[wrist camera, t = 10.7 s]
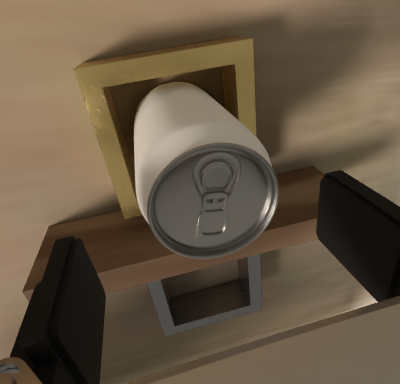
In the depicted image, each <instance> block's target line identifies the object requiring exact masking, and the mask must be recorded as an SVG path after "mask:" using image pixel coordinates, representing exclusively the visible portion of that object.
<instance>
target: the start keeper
mask: <svg viewBox="0 0 400 384" xmlns="http://www.w3.org/2000/svg"><path fill="white" fill-rule="evenodd" d="M238 267H239V278H240V280H237V281H233V282H229V283H225V284H222V285H218V286H214V287H210V288H207V289H203V290H199V291H195V292H192V293H188V294H184V295H180V296H177V297H173V298H170V296H169V292H168V289H167V285H166V282H165V279H161V280H157V281H153V282H149V283H147V286H148V289H149V292H150V295H151V297H152V300H153V303H154V306H155V309H156V312H157V315H158V318H159V321H160V324H161V327H162V330H163V333H164V336H165V337H166V336H170V335H173V334H177V333H180V332H184V331H187V330H191V329H195V328H198V327H202V326H205V325H209V324H212V323H216V322H219V321H223V320H226V319H230V318H234V317H237V316H241V315H244V314H248V313H251V312H255V311H258V310H262V294H261V264H260V254H257V255H253V256H250V257H246V258H242V259H238Z"/></svg>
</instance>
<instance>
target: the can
mask: <svg viewBox="0 0 400 384" xmlns="http://www.w3.org/2000/svg"><path fill="white" fill-rule="evenodd" d="M134 158H135V186H136V196H137V201H138V204H139V208H140V210H141V213H142V215H143V217H144V218H145V220H146V221H147V222H148V224H149V225H150V228H151V230H152V232H153V234H154V235H155V237H156V238H157V239H158V241H159V242H160V243H161V244H162V245H163V246H165V247H166V248H167V249H169V250H170V251H172V252H174V253H176V254H178V255H181V256H184V257H188V258H194V259H213V258H219V257H223V256H226V255H229V254H232V253H234V252H237V251H239V250H241V249H242V248H244V247H246V246H247V245H249V244H250V243H252V242H253V241H254V240H255V239H256V238H257V237H259V236H260V235H261V233H262V232H263V231H264V230H265V229H266V227H267V226H268V225H269V223H270V221H271V220H272V218H273V216H274V214H275V211H276V208H277V204H278V199H279V186H278V181H277V177H276V175H275V172H274V170H273V168H272V165H271V161H270V158H269V155H268V153H267V151H266V149H265V148H264V146H263V145H262V143H261V142H260V141H259V140H258V138H257V137H256V136H255V135H254V134H253V133H252V132H251V131H250V130H248V129H247V128H246V127H245V126H244V125H243V124H242V123H241V122H240V121H238V120H237V119H236V118H235V117H234V116H233V115H232V114H230V113H229V112H228V111H227V110H226V109H225V108H223V107H222V106H221V105H220V104H219V103H218V102H217V101H215V100H214V99H213V98H212V97H211V96H209V95H208V94H207V93H206V92H204V91H203V90H202V89H200V88H199V87H197V86H195V85H193V84H190V83H187V82H171V83H166V84H162V85H160V86H158V87H156V88H154V89H153V90H151V91H150V92H149V93H148V94H147V95H146V96H145V97H144V98H143V99H142V101H141V102H140V104H139V106H138V108H137V111H136V114H135V120H134Z"/></svg>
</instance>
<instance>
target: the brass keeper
mask: <svg viewBox="0 0 400 384" xmlns="http://www.w3.org/2000/svg"><path fill="white" fill-rule="evenodd" d="M215 67H221V78H222V89H223V100H224V108H225V109H226V110H227V111H228V112H229V113H230V114H232V115H233V116H234V117H235V118H236V119H237V120H238V121H240V122H241V123H242V124H243V125H244V126H245V127H246V128H247V129H248V130H250V131H251V132H252V133H253V134H254V135H255V136H256V110H255V79H254V49H253V38H243V37H230V38H224V39H218V40H212V41H206V42H200V43H194V44H189V45H183V46H177V47H171V48H165V49H159V50H153V51H147V52H141V53H135V54H129V55H123V56H117V57H112V58H106V59H100V60H94V61H88V62H82V63H81V64H80V65H78V66H77V67H76V68H74V72H75V75H76V78H77V80H78V83H79V86H80V89H81V92H82V95H83V98H84V101H85V104H86V107H87V110H88V113H89V116H90V119H91V122H92V124H93V127H94V130H95V133H96V136H97V139H98V142H99V145H100V148H101V151H102V154H103V157H104V160H105V163H106V166H107V168H108V171H109V174H110V177H111V180H112V183H113V186H114V189H115V192H116V195H117V198H118V201H119V204H120V207H121V209H122V212H123V215H124V218H125V219H128V218H133V217H137V216H141V215H142V213H141V210H140V208H139V204H138V201H137V196H136V186H135V175H134V171H133V168H132V164H131V161H130V157H129V154H128V151H127V147H126V144H125V140H124V137H123V133H122V130H121V126H120V123H119V119H118V116H117V113H116V109H115V106H114V102H113V99H112V95H111V92H110V88H109V86H115V85H120V84H126V83H131V82H137V81H142V80H148V79H154V78H159V77H165V76H170V75H176V74H181V73H187V72H192V71H198V70H204V69H209V68H215Z"/></svg>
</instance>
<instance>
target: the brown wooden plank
mask: <svg viewBox="0 0 400 384" xmlns="http://www.w3.org/2000/svg"><path fill="white" fill-rule="evenodd" d="M276 177H277V181H278V186H279V199H278V204H277V208H276V211H275V214H274V216H273V218H272V220H271V221H270V223H269V225H268V226H267V227H266V229H265V230H264V231H263V232H262V233H261V235H260V236H259V237H257V238H256V239H255V240H254V241H253V242H252V243H250V244H249V245H247V246H246V247H244V248H242V249H241V250H239V251H237V252H234V253H232V254H229V255H226V256H223V257H219V258H213V259H194V258H188V257H184V256H181V255H178V254H176V253H174V252H172V251H170V250H169V249H167V248H166V247H165V246H163V245H162V244H161V243H160V242H159V241H158V239H157V238H156V237H155V235H154V234H153V232H152V230H151V228H150V225H149V224H148V222H147V221H146V220H145V218H144V217H143V215H141V216H137V217H133V218H128V219H125V218H124V215H123V212H122V210H119V211H115V212H110V213H106V214H102V215H97V216H93V217H89V218H84V219H80V220H75V221H71V222H67V223H62V224H58V225H54V226H49V228H48V230H47V233H46V235H45V237H44V240H43V242H42V245H41V247H40V250H39V252H38V255H37V257H36V260H35V262H34V265H33V267H32V269H31V272H30V274H29V277H28V279H27V282H26V284H25V287H24V289H23V294H24V295H25V297H26V298H27V300H28V301H29V302H30V299H31V296H32V294H33V291H34V288H35V286H36V284H38V283H39V282H41V281H42V278H43V275H44V272H45V269H46V266H47V263H48V260H49V257H50V254H51V251H52V248H53V245H54V242H55V240H57V239H60V238H64V237H68V236H72V235H73V236H74V237H75V238H76V239H77V238H81V240H82V241H83V244H84V246H85V248H86V250H87V252H88V255H89V257H90V259H91V261H92V264H93V266H94V268H95V270H96V272H97V275H98V277H99V279H100V281H101V283H102V286H103V288H104V291H105V294H107V293H111V292H114V291H118V290H122V289H126V288H130V287H134V286H138V285H141V284H145V283H149V282H153V281H157V280H161V279H165V278H168V277H172V276H176V275H180V274H184V273H188V272H192V271H196V270H199V269H203V268H207V267H211V266H215V265H219V264H223V263H226V262H230V261H234V260H238V259H242V258H246V257H250V256H253V255H257V254H261V253H265V252H269V251H273V250H277V249H281V248H284V247H288V246H292V245H296V244H300V243H304V242H308V241H311V240H315V239H318V237H317V235H316V226H317V214H318V203H319V191H320V181H321V179H322V178H324V174H323V173H321V172H320V171H319V170H317V169H316V168H315V167H314V166H312V167H308V168H303V169H299V170H295V171H290V172H286V173H281V174H277V175H276Z"/></svg>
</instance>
